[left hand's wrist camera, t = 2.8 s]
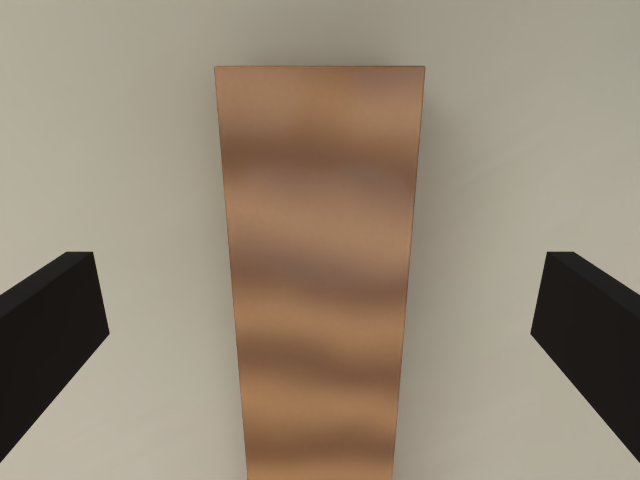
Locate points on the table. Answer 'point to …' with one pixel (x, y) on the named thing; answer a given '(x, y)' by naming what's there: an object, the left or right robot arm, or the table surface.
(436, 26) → the table surface
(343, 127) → the wide beam
